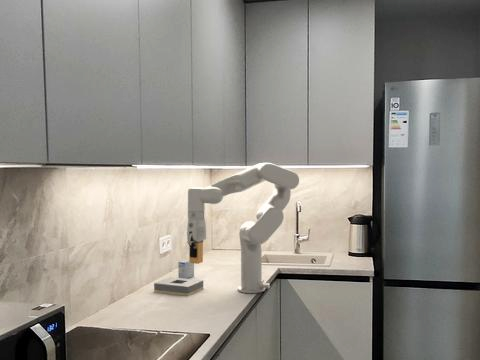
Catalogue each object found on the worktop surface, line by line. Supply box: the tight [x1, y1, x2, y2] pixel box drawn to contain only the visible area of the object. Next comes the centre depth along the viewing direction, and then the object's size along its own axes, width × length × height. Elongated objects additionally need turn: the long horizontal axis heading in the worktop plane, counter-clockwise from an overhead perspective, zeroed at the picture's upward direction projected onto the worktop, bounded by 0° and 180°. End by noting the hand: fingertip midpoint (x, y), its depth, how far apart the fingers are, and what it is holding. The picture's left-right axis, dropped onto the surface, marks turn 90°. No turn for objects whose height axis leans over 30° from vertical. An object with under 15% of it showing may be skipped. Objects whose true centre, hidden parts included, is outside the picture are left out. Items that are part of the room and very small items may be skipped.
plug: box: [188, 240, 204, 264], centre depth 215 cm, size 4×4×10 cm
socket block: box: [153, 276, 204, 296], centre depth 224 cm, size 18×14×4 cm
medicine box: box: [177, 259, 195, 279], centre depth 252 cm, size 8×4×9 cm, turn 149°
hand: (196, 256), depth 215 cm, fingers closed on plug, 4 cm apart
